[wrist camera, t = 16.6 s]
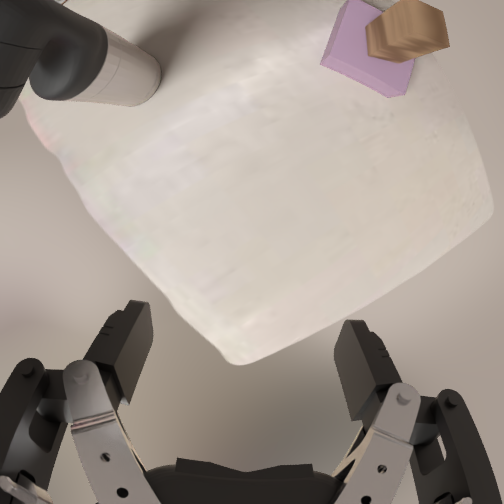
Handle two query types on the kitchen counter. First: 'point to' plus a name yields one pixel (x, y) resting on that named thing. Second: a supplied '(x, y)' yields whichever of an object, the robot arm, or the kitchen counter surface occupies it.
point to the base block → (363, 52)
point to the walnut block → (406, 32)
